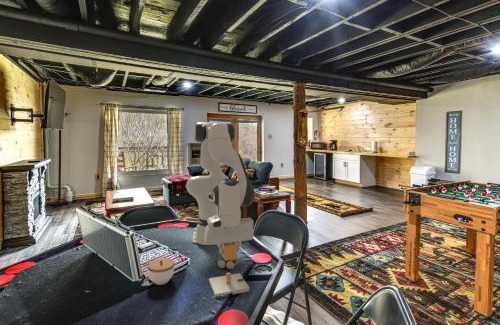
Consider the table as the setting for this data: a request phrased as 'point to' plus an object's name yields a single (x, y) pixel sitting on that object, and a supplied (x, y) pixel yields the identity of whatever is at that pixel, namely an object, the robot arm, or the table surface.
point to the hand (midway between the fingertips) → (229, 252)
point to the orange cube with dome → (229, 251)
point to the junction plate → (228, 284)
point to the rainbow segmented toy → (226, 263)
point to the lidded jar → (161, 270)
